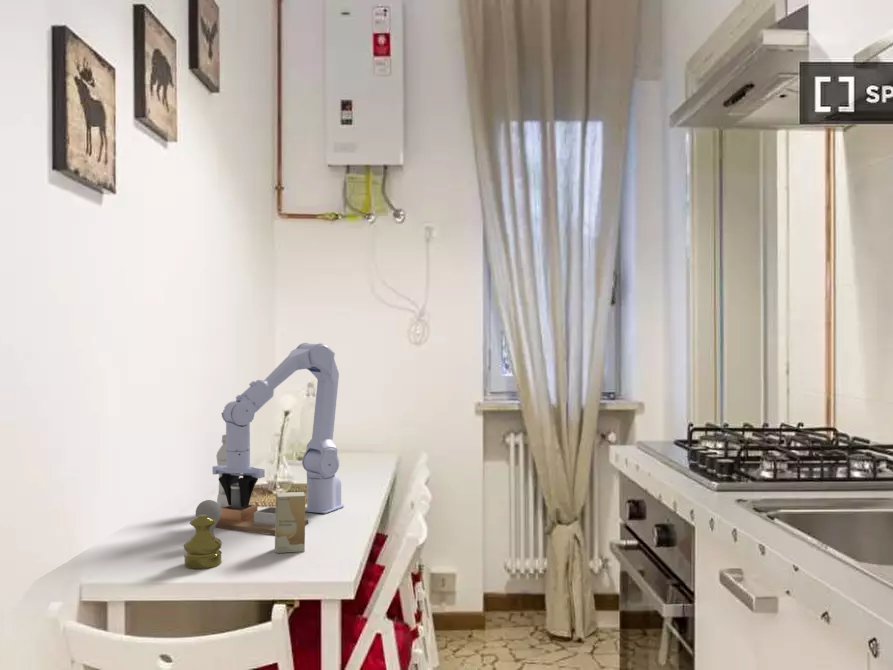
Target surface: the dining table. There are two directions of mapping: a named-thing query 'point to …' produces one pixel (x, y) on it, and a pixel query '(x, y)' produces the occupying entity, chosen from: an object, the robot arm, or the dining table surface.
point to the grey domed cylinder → (236, 497)
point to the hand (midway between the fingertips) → (238, 505)
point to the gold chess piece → (202, 545)
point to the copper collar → (237, 514)
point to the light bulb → (209, 511)
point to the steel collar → (265, 517)
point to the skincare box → (290, 522)
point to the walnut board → (248, 526)
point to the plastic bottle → (221, 462)
